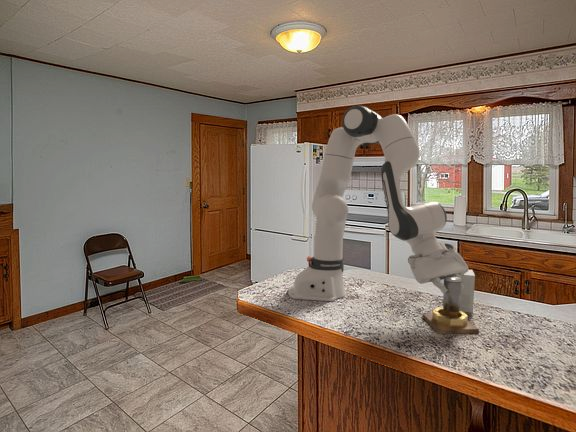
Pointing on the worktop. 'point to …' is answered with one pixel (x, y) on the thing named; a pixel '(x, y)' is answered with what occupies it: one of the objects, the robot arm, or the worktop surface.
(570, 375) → the worktop surface
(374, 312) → the worktop surface
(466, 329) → the board
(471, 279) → the small box
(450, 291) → the grey metal cylinder
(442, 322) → the ring
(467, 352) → the worktop surface
